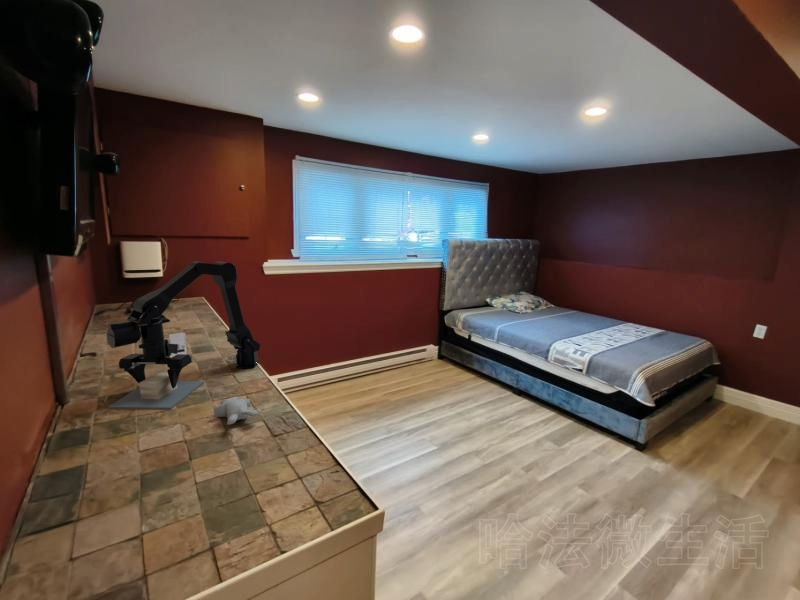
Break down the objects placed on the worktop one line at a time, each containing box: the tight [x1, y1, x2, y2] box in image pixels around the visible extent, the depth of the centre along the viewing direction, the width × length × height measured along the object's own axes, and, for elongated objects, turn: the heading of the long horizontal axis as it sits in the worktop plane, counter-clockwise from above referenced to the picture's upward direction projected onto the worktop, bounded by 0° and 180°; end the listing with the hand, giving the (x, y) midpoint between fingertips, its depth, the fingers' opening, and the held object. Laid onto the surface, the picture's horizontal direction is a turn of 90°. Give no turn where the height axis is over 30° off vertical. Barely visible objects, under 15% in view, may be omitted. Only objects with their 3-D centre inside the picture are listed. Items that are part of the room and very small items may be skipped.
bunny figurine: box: [213, 396, 260, 425], centre depth 99 cm, size 10×5×15 cm
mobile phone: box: [168, 332, 188, 358], centre depth 148 cm, size 6×6×25 cm
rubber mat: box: [107, 380, 205, 410], centre depth 112 cm, size 18×18×1 cm
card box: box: [138, 371, 177, 399], centre depth 112 cm, size 8×6×5 cm
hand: (159, 387), depth 112 cm, fingers open, 9 cm apart
